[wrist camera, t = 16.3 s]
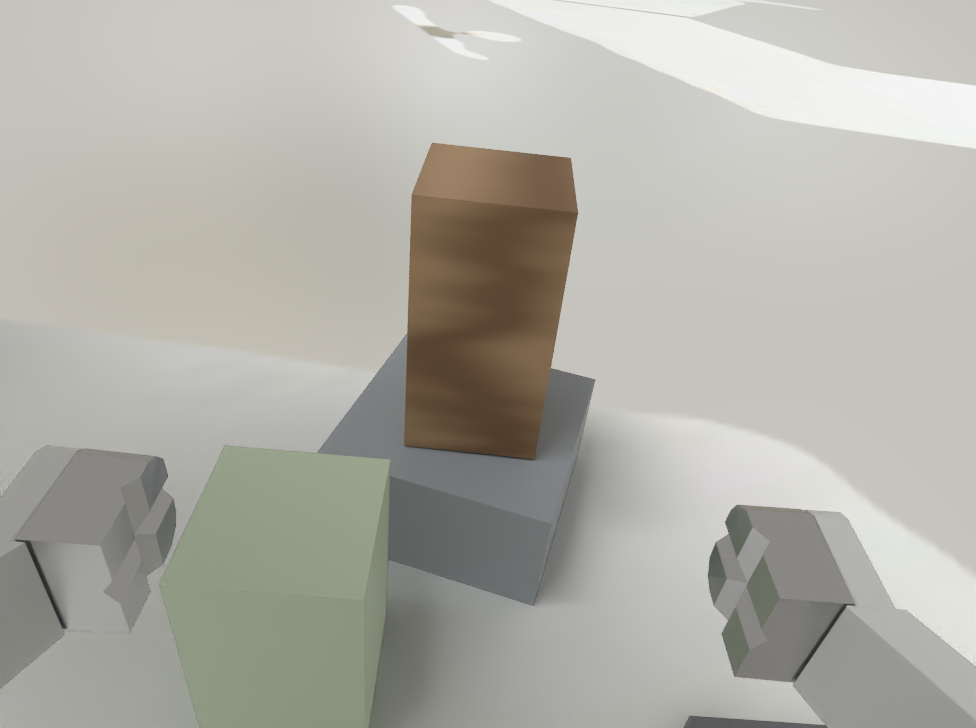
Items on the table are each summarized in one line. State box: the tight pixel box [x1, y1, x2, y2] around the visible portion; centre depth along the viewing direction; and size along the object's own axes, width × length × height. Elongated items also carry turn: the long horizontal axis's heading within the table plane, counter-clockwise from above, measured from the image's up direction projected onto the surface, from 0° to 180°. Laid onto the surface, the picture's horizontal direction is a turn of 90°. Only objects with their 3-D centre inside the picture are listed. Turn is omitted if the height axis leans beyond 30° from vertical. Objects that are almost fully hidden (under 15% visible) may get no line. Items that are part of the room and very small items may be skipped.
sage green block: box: [159, 446, 390, 728], centre depth 22 cm, size 5×5×8 cm
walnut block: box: [404, 143, 578, 459], centre depth 26 cm, size 5×5×10 cm
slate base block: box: [317, 333, 595, 606], centre depth 30 cm, size 9×9×5 cm
